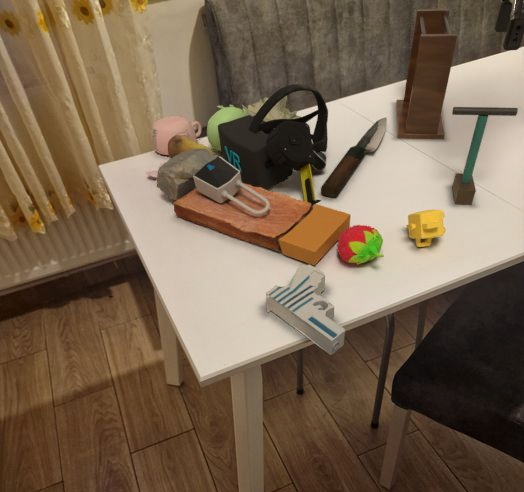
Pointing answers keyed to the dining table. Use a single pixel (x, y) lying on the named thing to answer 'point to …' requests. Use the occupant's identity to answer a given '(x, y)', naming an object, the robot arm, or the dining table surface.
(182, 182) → the stone
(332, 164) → the dining table surface
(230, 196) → the padlock
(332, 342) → the toy gun
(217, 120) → the green curved piece
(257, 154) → the virtual reality headset
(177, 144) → the fruit
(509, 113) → the green t-shaped stand
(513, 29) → the robot arm
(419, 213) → the yellow studded block
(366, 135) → the kitchen knife
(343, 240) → the strawberry
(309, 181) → the tape measure
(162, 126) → the mug
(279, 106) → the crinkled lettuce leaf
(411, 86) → the wooden rack
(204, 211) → the wooden plank
